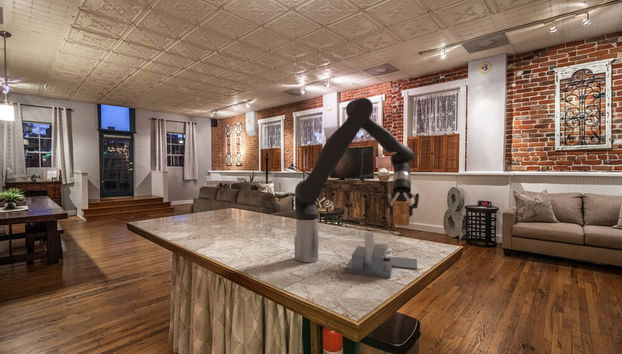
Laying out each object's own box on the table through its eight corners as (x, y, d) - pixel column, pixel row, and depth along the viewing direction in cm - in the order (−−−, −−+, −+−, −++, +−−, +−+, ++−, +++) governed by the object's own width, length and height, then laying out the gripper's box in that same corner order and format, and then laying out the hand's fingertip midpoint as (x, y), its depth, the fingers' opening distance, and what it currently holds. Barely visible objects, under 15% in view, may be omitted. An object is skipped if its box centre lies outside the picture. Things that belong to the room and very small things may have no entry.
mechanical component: (369, 254, 130) (392, 255, 128) (369, 244, 130) (392, 245, 128) (369, 248, 140) (390, 249, 138) (369, 239, 140) (390, 240, 138)
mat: (384, 266, 113) (384, 265, 113) (386, 257, 124) (386, 256, 124) (417, 269, 109) (417, 268, 109) (416, 260, 120) (416, 258, 120)
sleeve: (393, 224, 114) (392, 202, 114) (393, 222, 120) (393, 200, 120) (409, 225, 112) (408, 202, 112) (409, 222, 118) (409, 200, 118)
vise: (345, 273, 106) (344, 234, 105) (351, 263, 117) (351, 228, 117) (390, 278, 100) (390, 237, 100) (392, 267, 112) (392, 231, 111)
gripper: (384, 177, 125) (381, 209, 114) (419, 177, 120) (420, 210, 109) (385, 189, 130) (383, 220, 119) (419, 189, 125) (420, 221, 114)
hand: (401, 215), depth 114 cm, fingers closed on sleeve, 6 cm apart
